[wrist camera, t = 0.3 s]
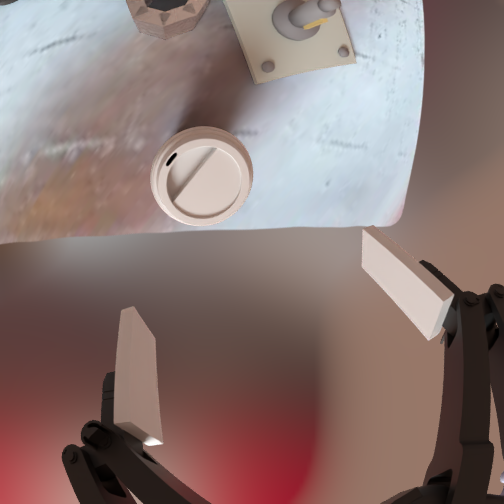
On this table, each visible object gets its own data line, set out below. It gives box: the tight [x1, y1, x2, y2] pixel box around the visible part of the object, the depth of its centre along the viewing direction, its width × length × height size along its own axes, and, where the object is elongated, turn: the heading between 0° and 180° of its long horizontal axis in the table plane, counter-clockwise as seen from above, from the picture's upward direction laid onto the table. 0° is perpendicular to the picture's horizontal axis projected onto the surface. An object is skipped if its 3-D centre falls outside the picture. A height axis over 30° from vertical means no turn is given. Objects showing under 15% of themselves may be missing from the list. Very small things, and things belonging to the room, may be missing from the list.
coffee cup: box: [150, 126, 253, 226], centre depth 29 cm, size 10×10×15 cm
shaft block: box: [222, 0, 356, 85], centre depth 23 cm, size 16×16×12 cm
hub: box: [126, 0, 209, 40], centre depth 21 cm, size 9×9×7 cm
